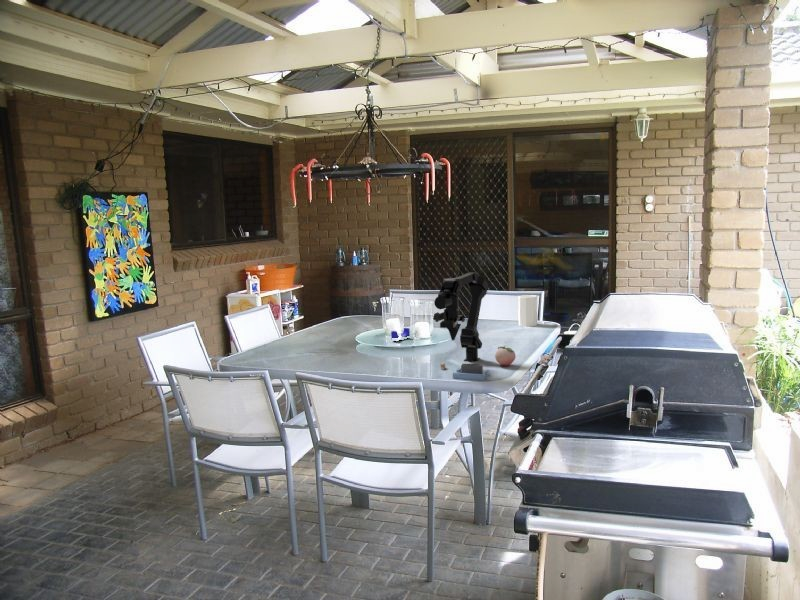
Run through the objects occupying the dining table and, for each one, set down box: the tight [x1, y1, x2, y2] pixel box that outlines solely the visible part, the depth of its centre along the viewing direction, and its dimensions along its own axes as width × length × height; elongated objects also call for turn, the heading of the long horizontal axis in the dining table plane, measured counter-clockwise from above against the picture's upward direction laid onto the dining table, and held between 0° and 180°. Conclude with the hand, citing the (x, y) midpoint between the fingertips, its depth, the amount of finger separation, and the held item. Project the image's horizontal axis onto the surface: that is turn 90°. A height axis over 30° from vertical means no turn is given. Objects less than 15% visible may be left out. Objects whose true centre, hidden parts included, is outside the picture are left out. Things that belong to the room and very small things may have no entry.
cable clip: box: [390, 327, 411, 339], centre depth 354 cm, size 12×4×6 cm, turn 137°
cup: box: [517, 294, 538, 328], centre depth 378 cm, size 11×11×18 cm
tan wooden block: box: [440, 362, 446, 371], centre depth 281 cm, size 3×14×2 cm, turn 68°
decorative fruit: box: [494, 346, 516, 367], centre depth 282 cm, size 9×8×10 cm
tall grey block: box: [460, 363, 484, 374], centre depth 270 cm, size 4×9×5 cm, turn 77°
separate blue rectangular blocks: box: [452, 367, 490, 381], centre depth 267 cm, size 8×14×2 cm, turn 68°
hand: (453, 340), depth 283 cm, fingers closed
